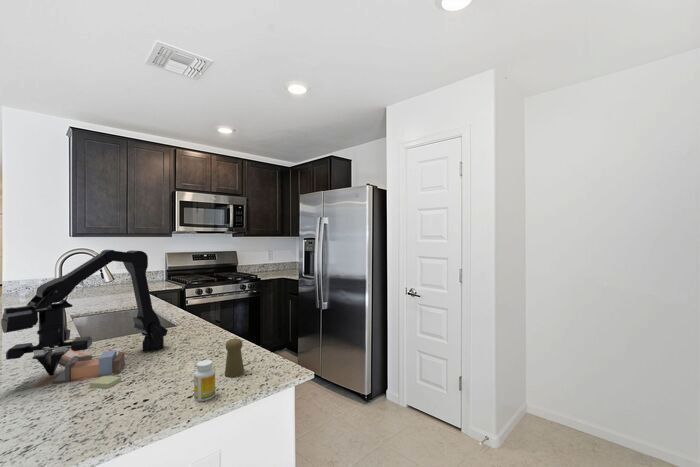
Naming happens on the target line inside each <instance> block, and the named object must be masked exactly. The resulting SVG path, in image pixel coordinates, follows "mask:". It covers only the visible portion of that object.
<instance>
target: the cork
mask: <svg viewBox="0 0 700 467" xmlns="http://www.w3.org/2000/svg"><path fill="white" fill-rule="evenodd" d="M243 344H244V343H243V340H241V338H231V339H228V340H227V341H226V343H225V349H226V351H227V353H226V362H225V370H224V376H225V377H226V378H238V377H240V376H243V374H245V368H244V360H243V355H242V348H243Z"/></svg>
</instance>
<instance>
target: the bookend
mask: <svg viewBox="0 0 700 467" xmlns="http://www.w3.org/2000/svg"><path fill="white" fill-rule="evenodd" d="M76 362H78V356H74V357H73V358H72V359H71V360H70V361H69V362H68V363H67V364H66V365H65V366H64V371H61V372H60V373H59V374H60V375H59V376H58V377H57V378H56V379H55V380H54V381H53V382H52V384H55V385H57V384H56V383H61V384H63V383H62V382H67V383H69V382H68V381H70V380H71V368H72V367H73V366H74V365H75V363H76Z"/></svg>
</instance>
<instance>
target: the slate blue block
mask: <svg viewBox="0 0 700 467" xmlns="http://www.w3.org/2000/svg"><path fill="white" fill-rule="evenodd" d="M117 355H118V353H117V349H114V350H107V351H103V352H102V354H100V356H99V357H98V359H99V376H100V375H106V374H112V373H113V361H114V359H115V358H116V356H117Z"/></svg>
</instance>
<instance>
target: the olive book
mask: <svg viewBox="0 0 700 467" xmlns="http://www.w3.org/2000/svg"><path fill="white" fill-rule="evenodd" d="M121 382H122V376H114V375H110V376H103V377H98V378H96V379H95V380H93V381H91V382H89V388H92V389H111V388H113V387H114V386H116V385H118V384H119V383H121Z"/></svg>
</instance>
